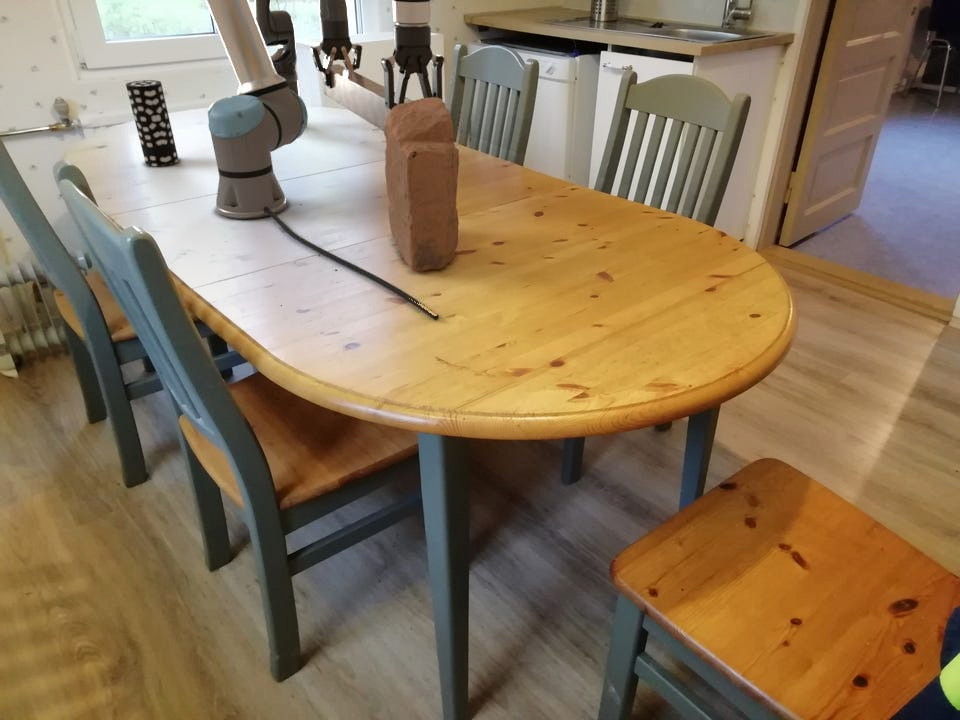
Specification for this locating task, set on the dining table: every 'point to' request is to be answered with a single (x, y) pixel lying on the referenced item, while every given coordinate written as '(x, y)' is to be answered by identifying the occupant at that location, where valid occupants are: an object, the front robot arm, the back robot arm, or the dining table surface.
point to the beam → (358, 95)
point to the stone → (422, 182)
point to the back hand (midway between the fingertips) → (339, 86)
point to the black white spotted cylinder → (152, 122)
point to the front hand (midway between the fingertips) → (414, 140)
